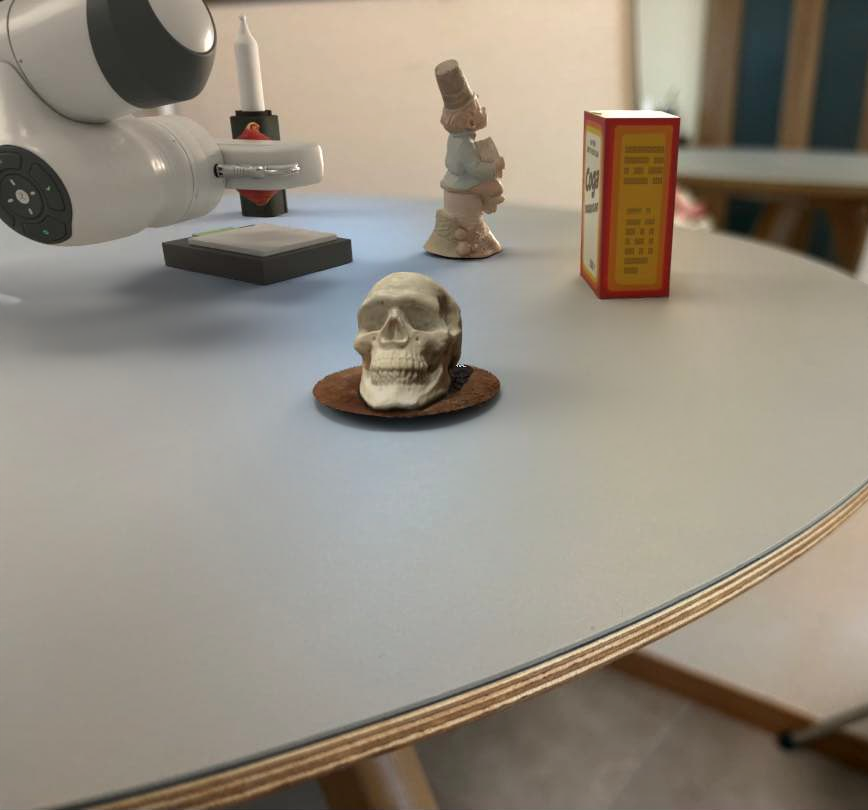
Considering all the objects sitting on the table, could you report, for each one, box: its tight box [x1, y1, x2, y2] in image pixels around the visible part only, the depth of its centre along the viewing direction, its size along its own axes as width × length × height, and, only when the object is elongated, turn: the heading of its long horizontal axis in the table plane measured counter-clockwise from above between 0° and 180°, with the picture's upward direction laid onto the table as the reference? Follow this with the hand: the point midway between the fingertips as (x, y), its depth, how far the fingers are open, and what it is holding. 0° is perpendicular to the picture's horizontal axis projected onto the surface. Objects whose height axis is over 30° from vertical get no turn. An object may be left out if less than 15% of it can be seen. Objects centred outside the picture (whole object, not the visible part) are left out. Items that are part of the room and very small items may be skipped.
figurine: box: [422, 58, 507, 259], centre depth 91 cm, size 9×8×20 cm
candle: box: [229, 13, 289, 218], centre depth 112 cm, size 5×5×25 cm
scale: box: [161, 222, 354, 286], centre depth 89 cm, size 15×12×3 cm
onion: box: [235, 122, 278, 205], centre depth 85 cm, size 6×6×8 cm
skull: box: [312, 271, 501, 419], centre depth 55 cm, size 12×10×10 cm
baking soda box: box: [579, 109, 682, 300], centre depth 79 cm, size 10×6×16 cm
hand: (259, 153), depth 85 cm, fingers closed on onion, 5 cm apart
